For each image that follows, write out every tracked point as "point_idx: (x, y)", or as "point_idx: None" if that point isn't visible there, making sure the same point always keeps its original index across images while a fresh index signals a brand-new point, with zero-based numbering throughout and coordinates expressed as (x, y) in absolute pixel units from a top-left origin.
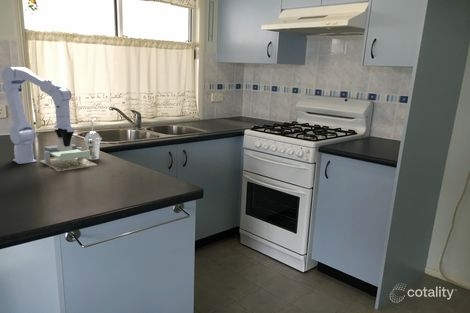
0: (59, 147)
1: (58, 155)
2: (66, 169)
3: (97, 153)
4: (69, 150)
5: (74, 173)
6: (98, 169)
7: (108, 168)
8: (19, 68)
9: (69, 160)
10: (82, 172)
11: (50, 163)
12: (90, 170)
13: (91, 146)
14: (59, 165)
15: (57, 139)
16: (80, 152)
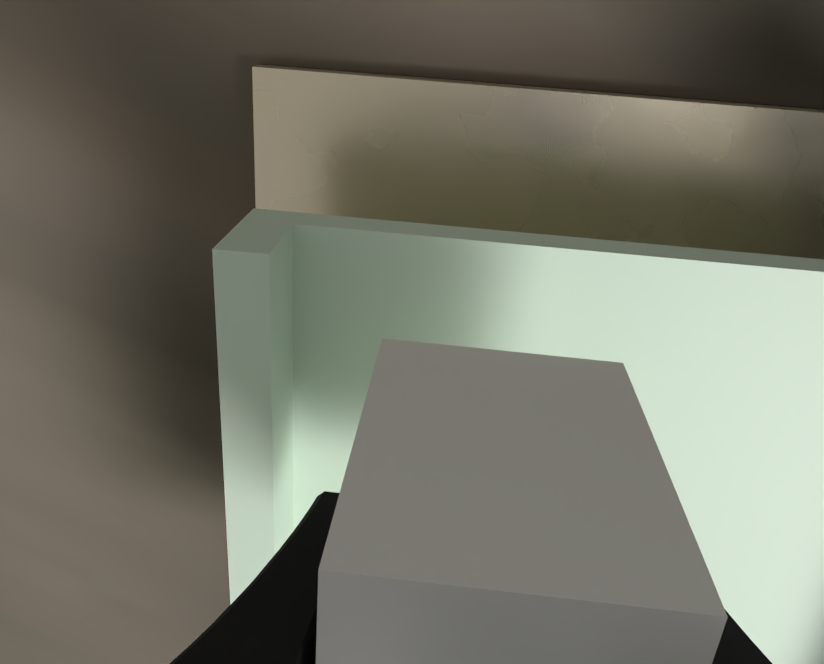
0: (457, 386)
1: (553, 293)
2: (258, 208)
3: None
4: (815, 630)
5: (7, 201)
6: (61, 513)
7: (48, 602)
8: None
9: None
10: (9, 308)
11: (805, 183)
12: (62, 428)
13: None
14: (544, 232)
15: (601, 557)
16: (232, 601)
